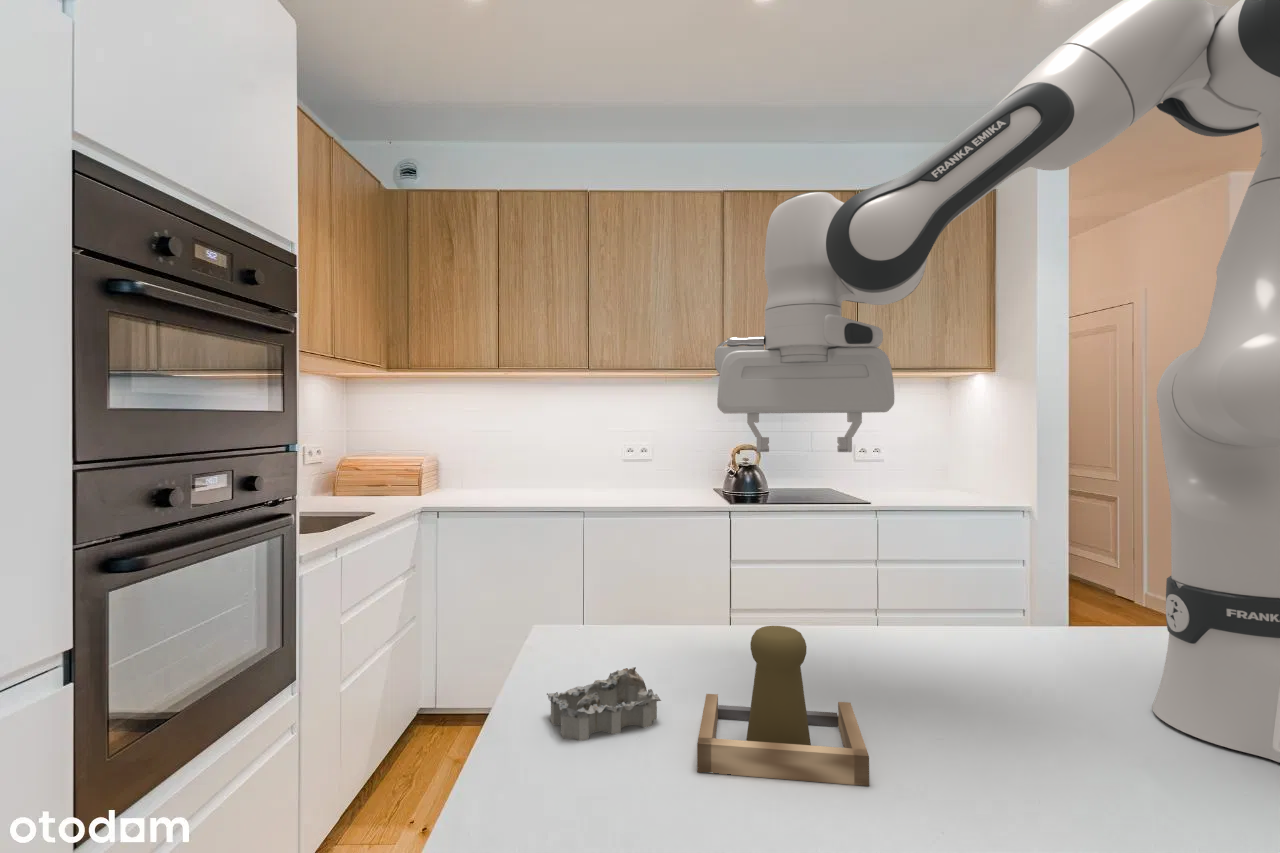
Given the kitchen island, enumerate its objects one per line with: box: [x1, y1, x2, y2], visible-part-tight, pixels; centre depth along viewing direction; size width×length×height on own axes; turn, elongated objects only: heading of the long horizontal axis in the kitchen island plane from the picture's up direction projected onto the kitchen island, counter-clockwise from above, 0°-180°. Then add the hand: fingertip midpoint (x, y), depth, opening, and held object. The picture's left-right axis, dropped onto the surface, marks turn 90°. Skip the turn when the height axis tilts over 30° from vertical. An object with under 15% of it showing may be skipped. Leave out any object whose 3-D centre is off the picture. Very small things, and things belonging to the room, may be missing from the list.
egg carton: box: [546, 666, 662, 742], centre depth 70 cm, size 11×8×4 cm
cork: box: [745, 625, 812, 746], centre depth 64 cm, size 6×6×11 cm
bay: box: [696, 693, 870, 787], centre depth 64 cm, size 14×12×2 cm
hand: (803, 452), depth 80 cm, fingers open, 8 cm apart
